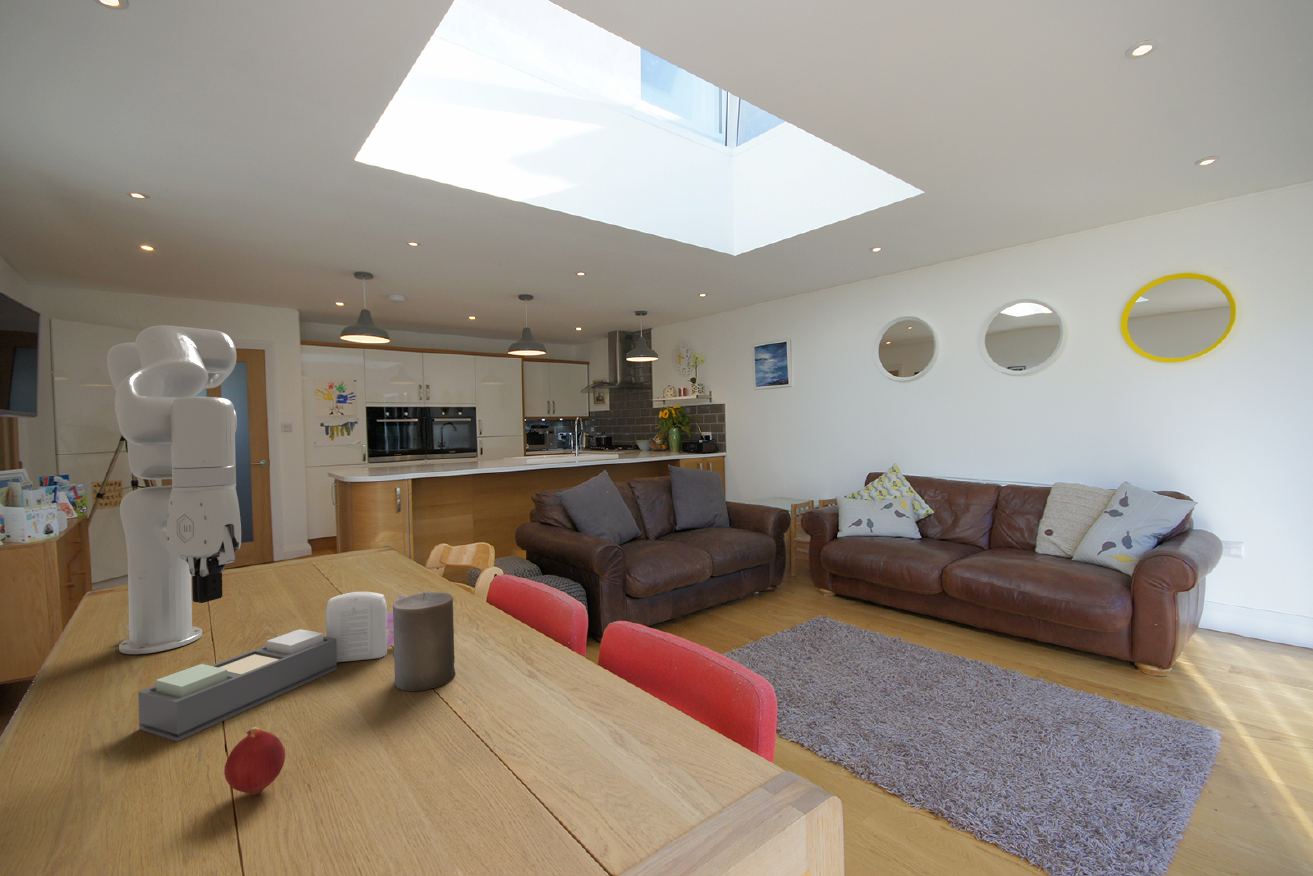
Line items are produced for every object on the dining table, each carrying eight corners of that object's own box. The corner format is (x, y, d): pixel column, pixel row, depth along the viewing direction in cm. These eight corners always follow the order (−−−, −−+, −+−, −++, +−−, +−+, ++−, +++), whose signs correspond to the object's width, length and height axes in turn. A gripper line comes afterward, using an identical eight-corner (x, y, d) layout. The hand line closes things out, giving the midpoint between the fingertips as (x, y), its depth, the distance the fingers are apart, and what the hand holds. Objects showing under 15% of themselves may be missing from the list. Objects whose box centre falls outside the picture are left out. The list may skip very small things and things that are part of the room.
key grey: (266, 664, 97) (266, 640, 97) (300, 651, 103) (299, 629, 103) (291, 669, 95) (290, 645, 95) (323, 655, 101) (323, 633, 100)
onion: (246, 779, 70) (245, 715, 70) (295, 776, 70) (294, 713, 70) (213, 811, 64) (212, 741, 64) (267, 808, 64) (266, 739, 64)
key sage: (156, 707, 82) (155, 680, 82) (202, 689, 88) (201, 663, 88) (182, 714, 80) (181, 686, 80) (227, 695, 86) (227, 669, 86)
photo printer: (389, 650, 110) (388, 587, 110) (385, 659, 106) (384, 593, 106) (329, 656, 107) (328, 591, 107) (323, 666, 103) (322, 598, 103)
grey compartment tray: (139, 729, 82) (138, 691, 81) (302, 662, 105) (301, 632, 104) (177, 741, 78) (176, 702, 78) (336, 669, 101) (336, 638, 101)
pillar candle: (467, 672, 100) (465, 587, 100) (423, 696, 91) (421, 603, 91) (426, 664, 104) (424, 582, 104) (380, 686, 95) (378, 597, 95)
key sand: (216, 693, 90) (215, 668, 90) (255, 677, 95) (254, 654, 95) (241, 700, 88) (241, 674, 87) (279, 683, 93) (279, 659, 93)
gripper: (143, 480, 84) (147, 602, 85) (211, 482, 79) (214, 613, 80) (199, 475, 91) (202, 589, 92) (264, 477, 86) (267, 597, 87)
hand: (207, 599), depth 86 cm, fingers closed
